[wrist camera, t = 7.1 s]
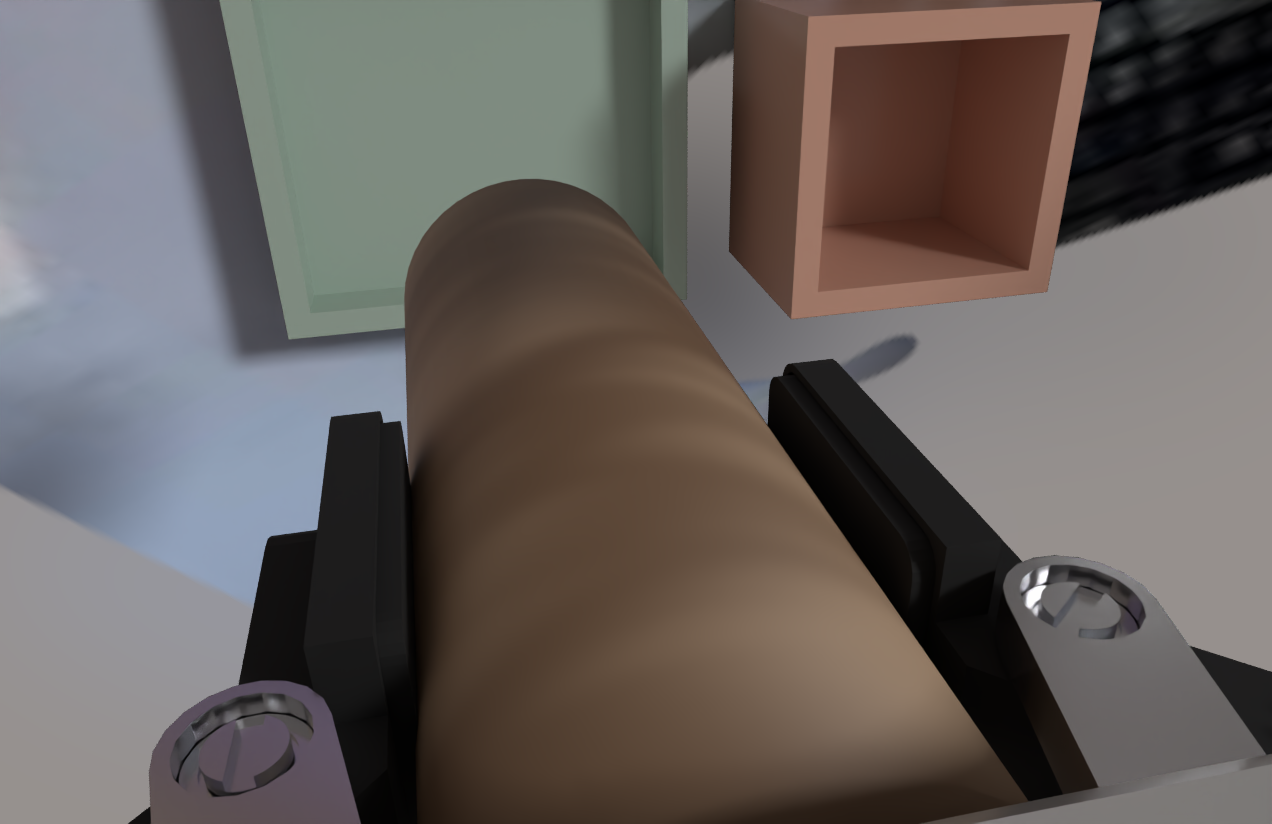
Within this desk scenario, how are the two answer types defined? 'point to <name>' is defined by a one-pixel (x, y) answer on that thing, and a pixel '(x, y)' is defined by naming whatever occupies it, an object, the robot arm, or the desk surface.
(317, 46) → the sage tray
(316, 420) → the desk surface
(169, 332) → the desk surface
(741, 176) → the terracotta box
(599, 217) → the walnut peg
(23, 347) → the desk surface
